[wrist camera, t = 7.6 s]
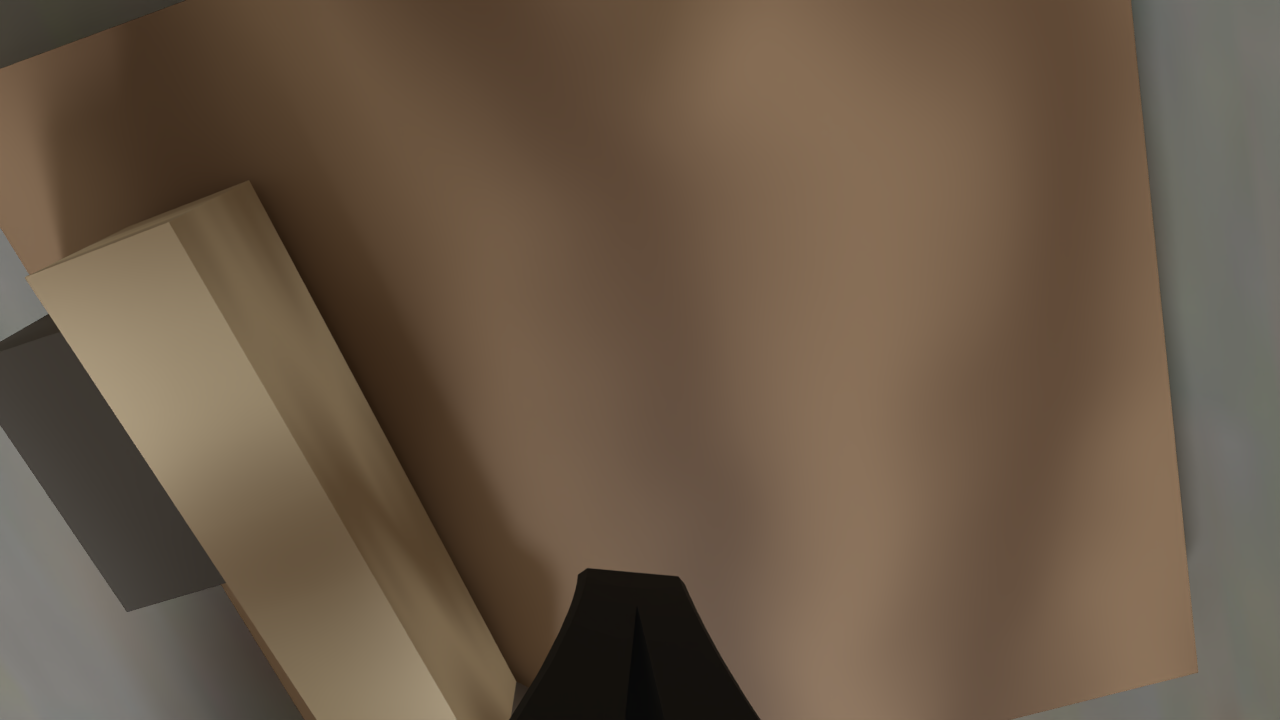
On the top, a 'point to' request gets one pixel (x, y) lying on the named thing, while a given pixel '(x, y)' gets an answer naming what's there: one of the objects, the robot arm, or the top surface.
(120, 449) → the stool seat
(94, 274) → the folding leg
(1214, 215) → the top surface
